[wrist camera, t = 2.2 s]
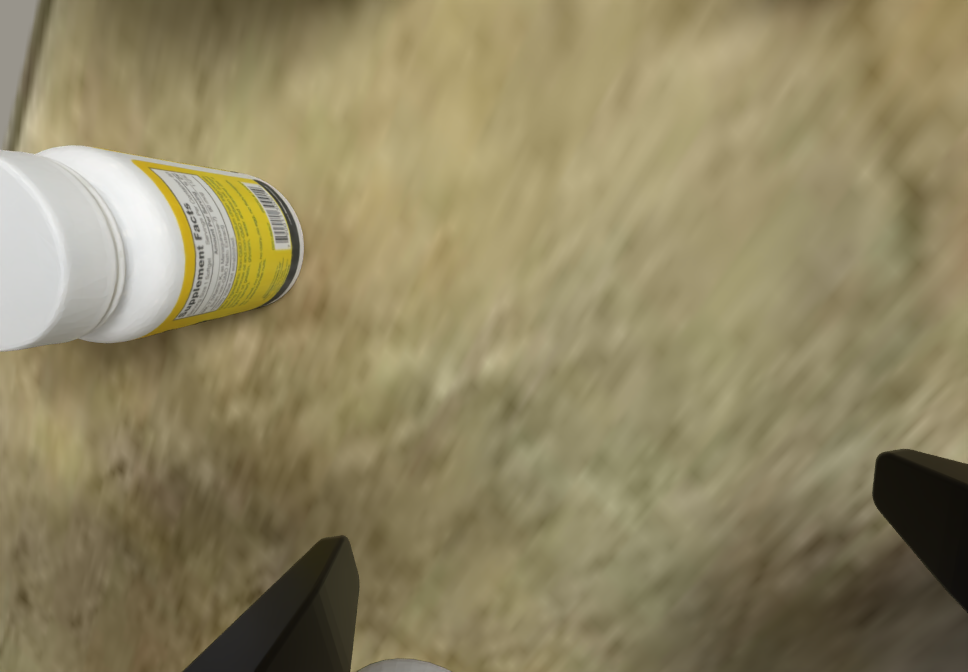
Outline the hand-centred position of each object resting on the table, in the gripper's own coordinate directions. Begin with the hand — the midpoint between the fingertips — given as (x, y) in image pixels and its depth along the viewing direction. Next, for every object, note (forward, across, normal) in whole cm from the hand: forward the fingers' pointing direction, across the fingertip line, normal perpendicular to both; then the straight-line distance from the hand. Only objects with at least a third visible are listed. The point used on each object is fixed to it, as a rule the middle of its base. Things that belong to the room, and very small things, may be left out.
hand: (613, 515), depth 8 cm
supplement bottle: (+14, +11, -5) cm, 19 cm away
